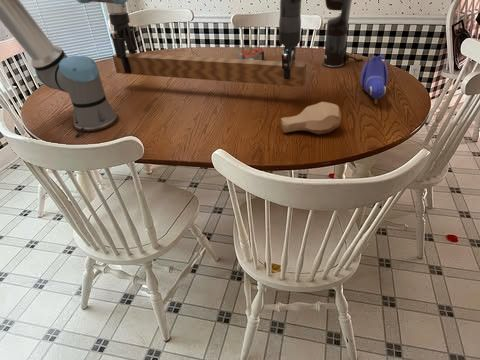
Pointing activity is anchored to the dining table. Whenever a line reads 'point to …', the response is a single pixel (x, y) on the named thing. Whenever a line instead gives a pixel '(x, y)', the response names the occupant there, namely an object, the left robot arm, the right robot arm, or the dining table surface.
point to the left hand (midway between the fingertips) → (131, 70)
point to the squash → (314, 119)
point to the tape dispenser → (254, 56)
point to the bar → (213, 69)
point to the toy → (374, 77)
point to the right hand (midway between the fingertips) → (288, 76)
